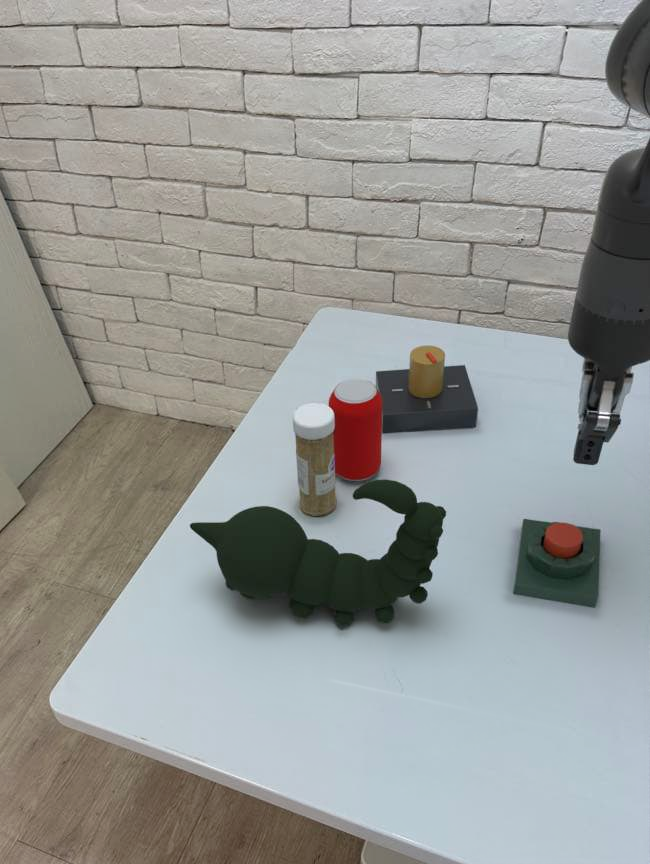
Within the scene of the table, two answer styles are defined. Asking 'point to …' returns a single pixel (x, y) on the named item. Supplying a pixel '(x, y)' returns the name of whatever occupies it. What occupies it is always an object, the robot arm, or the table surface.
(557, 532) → the button
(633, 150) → the robot arm
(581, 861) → the table surface
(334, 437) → the beverage can
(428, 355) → the knob
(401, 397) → the panel
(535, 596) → the button box
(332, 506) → the spice jar
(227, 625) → the table surface
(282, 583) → the toy figurine
